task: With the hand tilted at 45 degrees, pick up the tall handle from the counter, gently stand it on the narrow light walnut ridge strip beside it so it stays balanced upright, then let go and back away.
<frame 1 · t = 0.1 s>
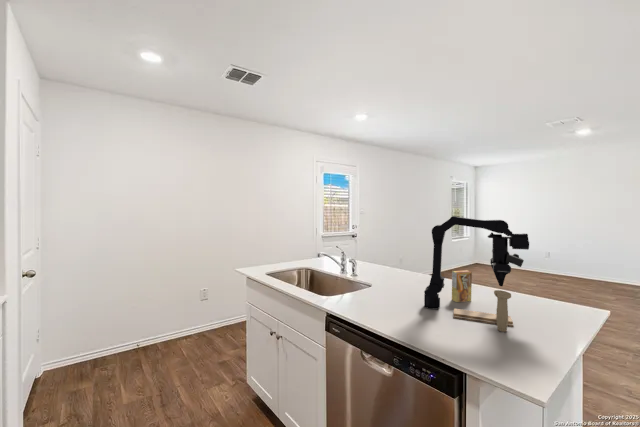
hand: (499, 283, 129), 15 cm above the worktop, tool pointing down, fingers open, 9 cm apart
candy box: (461, 301, 152), on the worktop
handle: (502, 331, 115), on the worktop
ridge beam: (481, 318, 128), on the worktop
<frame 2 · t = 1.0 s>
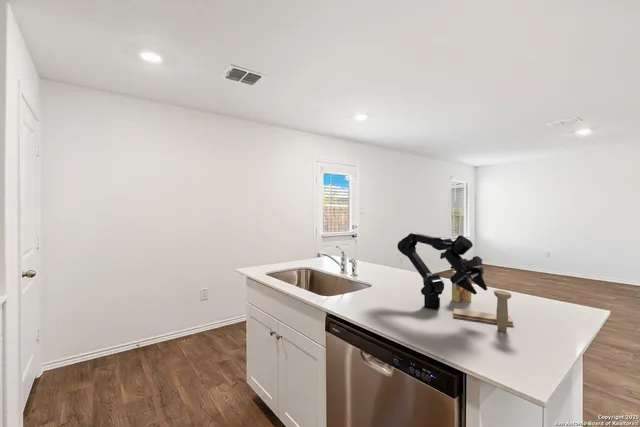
hand: (481, 292, 121), 13 cm above the worktop, tool tilted 45°, fingers open, 9 cm apart
nothing on the worktop moved.
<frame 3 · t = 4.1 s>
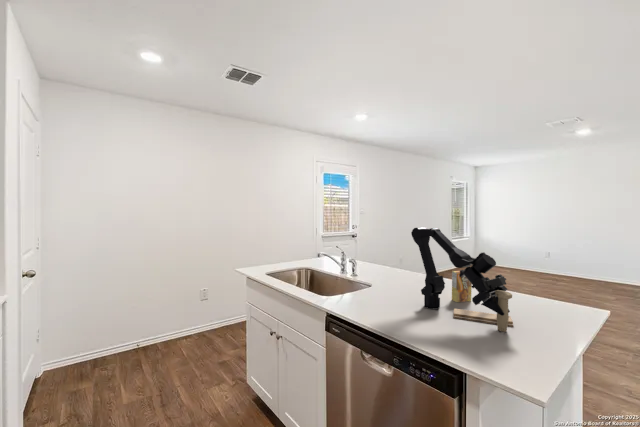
hand: (506, 313, 114), 7 cm above the worktop, tool tilted 45°, fingers open, 4 cm apart
handle: (502, 331, 115), on the worktop, touching gripper
everything else where it was.
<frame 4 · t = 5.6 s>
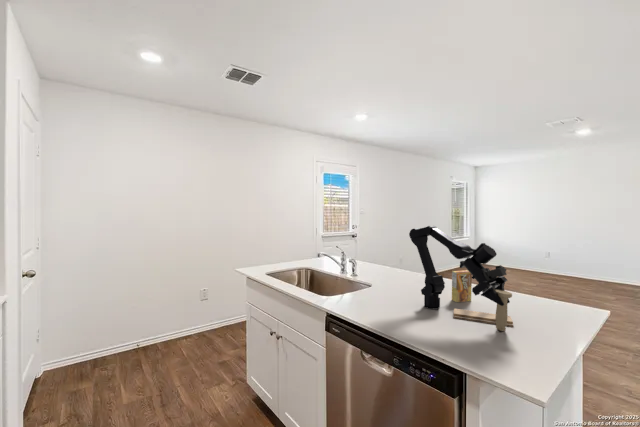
hand: (506, 304, 114), 11 cm above the worktop, tool tilted 45°, fingers closed on handle, 5 cm apart
handle: (500, 330, 115), on the worktop, touching gripper
everything else where it was.
when the fingers open (12 cm above the worktop, at t = 9.4 s): handle stays where it is, resting on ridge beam.
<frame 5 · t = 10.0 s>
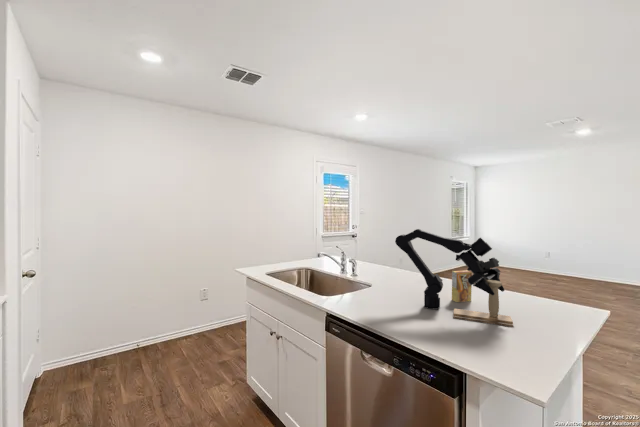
hand: (498, 292, 124), 12 cm above the worktop, tool tilted 45°, fingers open, 9 cm apart
handle: (493, 316, 126), point 1 cm above the worktop, touching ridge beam
everything else where it was.
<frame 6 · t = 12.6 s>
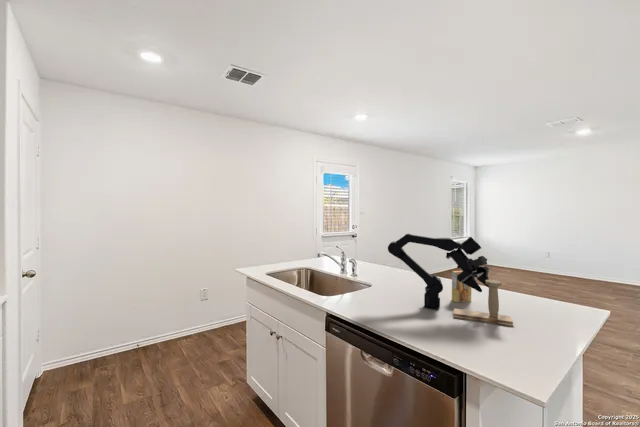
hand: (486, 289, 128), 12 cm above the worktop, tool tilted 45°, fingers open, 9 cm apart
nothing on the worktop moved.
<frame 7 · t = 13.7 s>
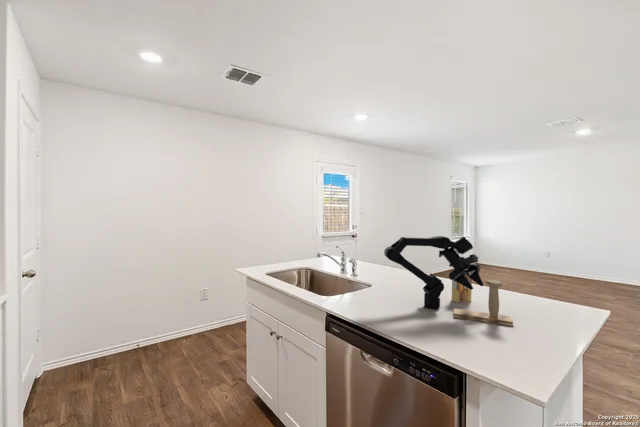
hand: (477, 287, 131), 13 cm above the worktop, tool tilted 45°, fingers open, 9 cm apart
nothing on the worktop moved.
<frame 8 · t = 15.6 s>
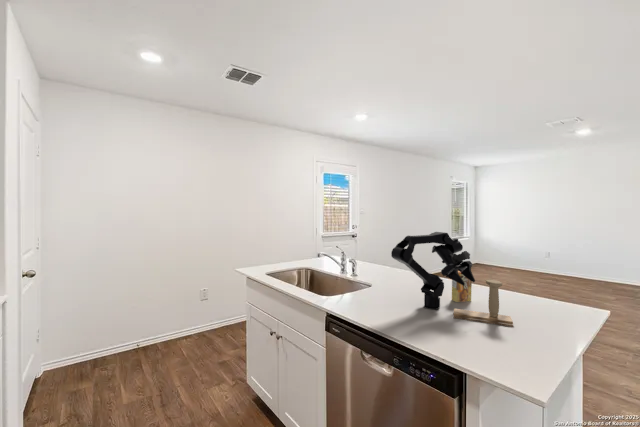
hand: (469, 283, 134), 14 cm above the worktop, tool tilted 45°, fingers open, 9 cm apart
nothing on the worktop moved.
at the end: handle inside the target area (0.5 cm from its centre), point 1.4 cm above the worktop; handle tilted 0°; the gripper is holding nothing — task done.
